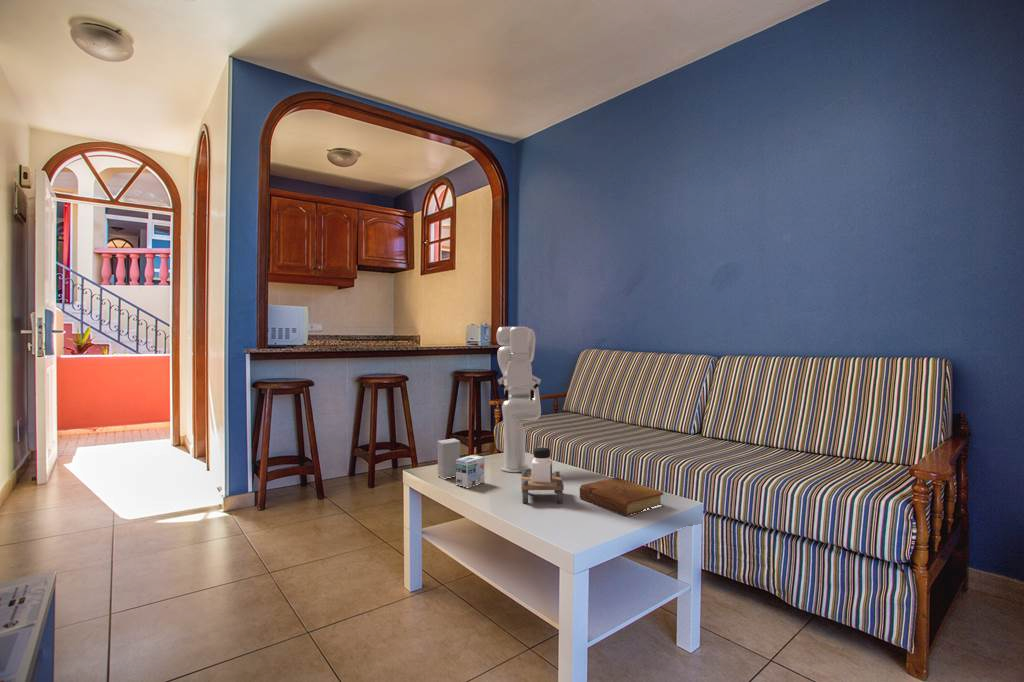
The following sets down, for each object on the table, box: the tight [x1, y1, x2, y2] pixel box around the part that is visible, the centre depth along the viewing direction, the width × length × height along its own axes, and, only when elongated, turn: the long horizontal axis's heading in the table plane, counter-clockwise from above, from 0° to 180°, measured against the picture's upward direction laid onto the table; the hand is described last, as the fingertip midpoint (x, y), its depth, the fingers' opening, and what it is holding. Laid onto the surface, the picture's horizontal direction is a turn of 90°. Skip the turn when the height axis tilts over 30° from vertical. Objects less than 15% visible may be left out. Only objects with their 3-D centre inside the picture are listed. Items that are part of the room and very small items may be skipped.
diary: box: [579, 477, 664, 517], centre depth 190 cm, size 23×19×6 cm
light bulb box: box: [455, 454, 485, 488], centre depth 214 cm, size 11×7×11 cm, turn 143°
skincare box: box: [437, 438, 461, 478], centre depth 225 cm, size 8×7×16 cm
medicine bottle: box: [530, 446, 553, 483], centre depth 196 cm, size 7×7×12 cm
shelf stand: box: [520, 470, 565, 505], centre depth 196 cm, size 15×15×8 cm
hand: (519, 400), depth 211 cm, fingers open, 9 cm apart
